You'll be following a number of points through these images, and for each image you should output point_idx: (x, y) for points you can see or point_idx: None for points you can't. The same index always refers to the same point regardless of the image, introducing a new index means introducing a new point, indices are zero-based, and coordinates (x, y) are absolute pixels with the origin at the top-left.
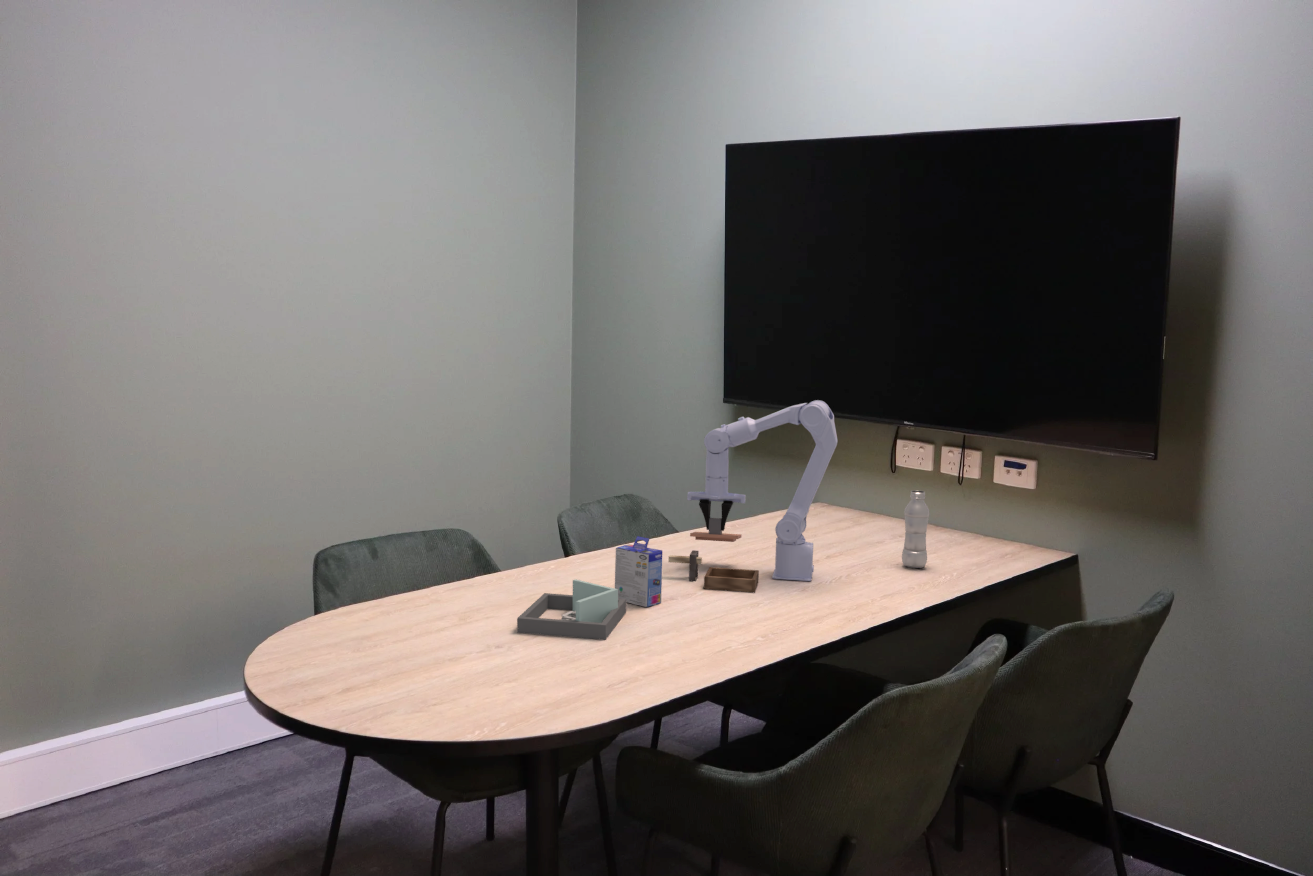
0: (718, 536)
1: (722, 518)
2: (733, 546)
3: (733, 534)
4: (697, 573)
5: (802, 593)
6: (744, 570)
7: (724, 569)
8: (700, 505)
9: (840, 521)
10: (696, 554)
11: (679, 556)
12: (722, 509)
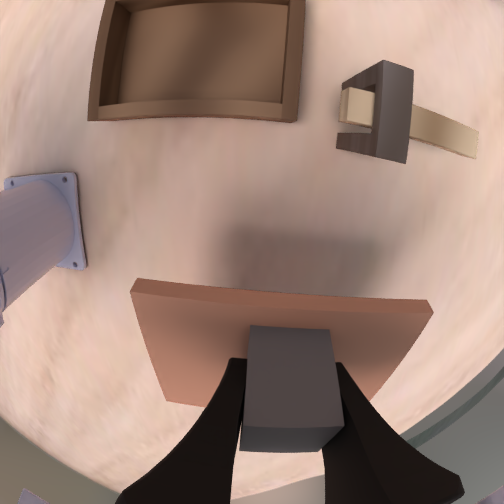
0: (262, 298)
1: (229, 423)
2: None
3: (190, 383)
4: (342, 134)
5: (21, 66)
6: (137, 102)
7: (224, 100)
8: (459, 484)
9: (119, 482)
10: (381, 82)
11: (445, 133)
12: (219, 495)
